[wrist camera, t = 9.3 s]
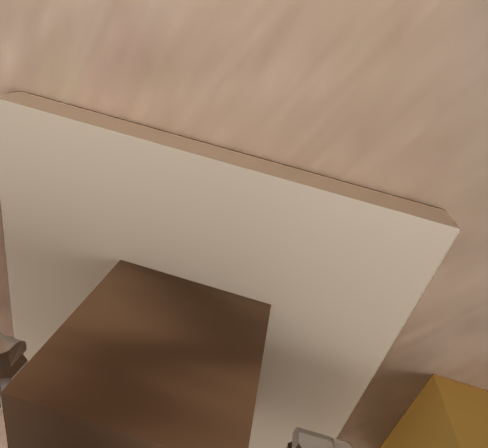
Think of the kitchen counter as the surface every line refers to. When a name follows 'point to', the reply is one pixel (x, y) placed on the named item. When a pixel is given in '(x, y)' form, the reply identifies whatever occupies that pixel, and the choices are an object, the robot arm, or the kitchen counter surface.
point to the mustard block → (443, 418)
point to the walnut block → (143, 369)
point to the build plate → (215, 247)
